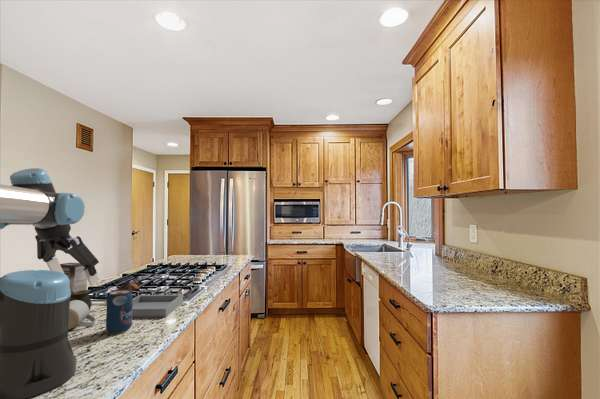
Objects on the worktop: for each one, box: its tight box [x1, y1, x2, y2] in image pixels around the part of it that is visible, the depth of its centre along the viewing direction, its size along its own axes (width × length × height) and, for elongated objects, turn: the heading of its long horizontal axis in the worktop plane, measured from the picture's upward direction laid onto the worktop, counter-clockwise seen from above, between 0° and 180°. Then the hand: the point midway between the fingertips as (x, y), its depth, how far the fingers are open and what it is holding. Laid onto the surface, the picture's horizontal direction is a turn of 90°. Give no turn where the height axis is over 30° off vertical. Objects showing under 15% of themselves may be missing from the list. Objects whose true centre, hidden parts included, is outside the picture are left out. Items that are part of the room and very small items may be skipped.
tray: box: [132, 294, 184, 319], centre depth 112 cm, size 18×18×3 cm
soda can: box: [105, 289, 134, 335], centre depth 92 cm, size 7×7×12 cm
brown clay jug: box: [117, 281, 142, 293], centre depth 127 cm, size 12×10×8 cm
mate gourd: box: [70, 289, 93, 311], centre depth 107 cm, size 7×8×10 cm
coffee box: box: [60, 262, 88, 298], centre depth 119 cm, size 9×6×16 cm
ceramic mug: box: [68, 300, 97, 331], centre depth 95 cm, size 11×8×8 cm
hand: (76, 279), depth 93 cm, fingers open, 13 cm apart
